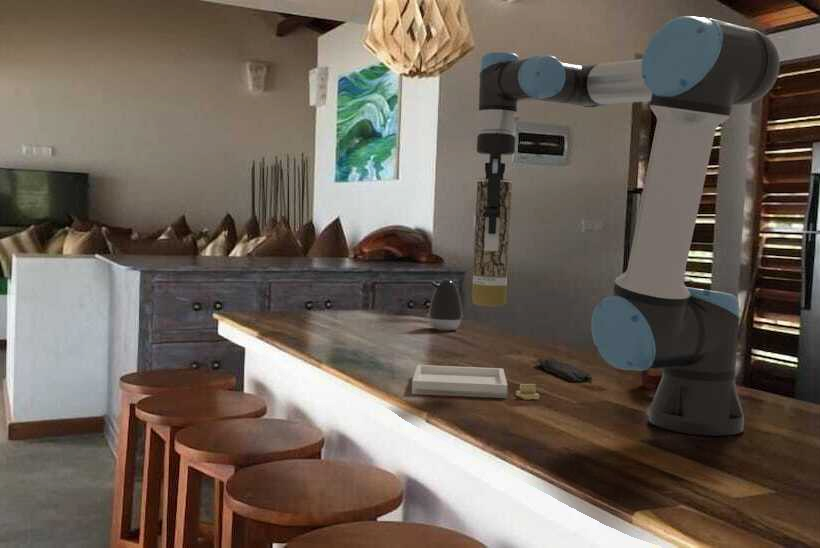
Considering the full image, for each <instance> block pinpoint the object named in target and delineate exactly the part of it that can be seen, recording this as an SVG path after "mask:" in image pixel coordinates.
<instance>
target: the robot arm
mask: <svg viewBox="0 0 820 548" xmlns="http://www.w3.org/2000/svg"><path fill="white" fill-rule="evenodd" d="M480 62H481V64H480V71H479V75H478V76H479V90H478V91H479V92H478V93H479V94H478V112H477V128H476V129H477V131H478V132H480V133H479V134H478V135H477V137H476V139H477V140H476V152H477V153H478V154H481V155H489V162H484V172H485V179H486V182H487V179H488V193H487V209H486V213H483V217H486V220H485V242H484V251H498V241H499V220H500V218H499V216H500V209H499V207H500V186H501V180H502V182H503V179H504V173H505V171H506V163H503V162H502V156H503V155H504V156H509V155H510V156H511V155H514V154H515V152H516V139H517V138H516V136H515V135H513V134H514V133H515V132H516V129H517V127H516V126H517V124H516V123H519V122H520V117H518V116H517V112H518V102H520V101H529V100H532V101H533V100H534V101H541V102H542V101H543V102H549V103H555V104H556V103H558V104H559V103H560V104H567V105H575V106H581V107H584V108H602V107H605V106H606V105H608V104H611V105H612V104H627V103H643V102H649V103H650V104H649V108H650V109H651V111H652V112H653V114H654V115H655V117H656V125H655V129H654V135H653V139H652V140H653V141H652V145H651V150H650V155H649V161H648V164H647V168H646V169H647V170H646V174H645V179H644V180H645V181H644V186H643V191H642V194H641V198H640V203H639V204H640V205H639V209H638V210H639V211H638V213H637V214H638V216H637V220H636V225H635V230H634V234H633V235H634V236H633V239H632V244H631V250H630V254H629V255H630V256H629V259H628V265H627V269H626V271H624V272H623V273H621V274H620V275H619V276H617V277H616V278H615V280H614V283H613V289H612V293H611V294H612V295H611V296H607V297H605V298H603V299H602V300H601V301H600V302H599V303H598V304H596V306H595V308H594V309H593V313H592V316H591V323H590V324H591V327H590V328H591V335H592V339H593V342H594V345H595V346H596V347H597V350H598V353H599V354H600V356H601V357H602V359H604V361H605V362H607V364H609V365H610V366H612V367H613V368H616V369H618V370H623V371H636V372H637V371H638V372H641V371H644V370H647V369H654V368H663V372H662V379H661V381H660V384H659V386H658V389H657V391H655V394H654V397H653V399H652V402H651V405H650V407H649V414H648V415H649V417H648V419H649V420H648V421H649V423H650V424H652V425H654V426H656V427H658V428H661V429H665V430H668V431H672V432H676V433H682V434H689V435H695V436H696V435H697V436H711V437H712V436H713V437H714V436H717V437H718V436H719V437H720V436H732V435H733V436H735V435H737V434H741V433H743V431H744V426H745V425H744V424H745V423H744V422H745V415H744V413H743V412H744V411H743V409H742V404H741V401H740V396H739V393H738V390H737V387H736V369H737V368H736V367H737V352H738V335H739V323H740V319H741V316H740V304H739V300H738V298H737V297H736V295H734V294H731V293H728V292H724V291H723V292H722V291H716V290H710V289H709V290H708V289H703V288H702V289H701V288H696V287H695V288H694V287H689V286H688V287H687V286H686V285H685V283H684V277H685V273H686V272H685V271H686V267H687V263H688V259H689V254H690V250H691V244H692V239H693V235H694V229H695V226H696V222H697V217H698V213H699V208H700V203H701V200H702V193H703V189H704V186H705V185H704V184H705V182H706V176H707V171H708V166H709V162H710V157H711V152H712V148H713V144H714V140H715V134H716V129H717V128H718V127H719V125H721V124H723V123H724V122H726V121H727V120H728V119H730V116H731V111H732V108H733V106H744V105H748V104H752V103H755V102H756V101H759V100H760V99H762V98H763V97H764V96H766V95H767V93H769V91H771V89H772V88H773V86H774V85H775V83H776V81H777V78H778V76H779V73H780V66H781V65H780V55H779V52H778V49H777V47H776V46H775V44H774V42H773V41H772V40H771V39H770V38H769V37H768V36H767V35H766V34H764V33H763V32H761V31H759V30H757V29H753V28H750V27H745V26H741V25H737V24H733V23H730V22H729V23H728V22H725V21H722V20H717V19H713V18H710V17H705V16H703V17H700V16H691V15H684V16H678V17H676V18H673V19H671V20H669V21H667V22H666V23H665V24H663V25H662V26H661V28H660V29H658V30H656V31H655V32H654V34H653V35H652V37H651V38H650V39H649V41H648V42H647V45H646V46H645V49H644V51H643V54H642V57H641V58H640V59H639V58H638V59H631V60H622V61H615V62H605V63H597V64H589V65H579V64H572V63H566V62H561V61H560V60H559V59H558V58H557V57H555V56H553V55H534V56H532V57H529V58H524V59H520V57H519V55H518V54H516V53H513V52H509V51H508V52H507V51H496V52H492V51H491V52H488V53H486V54H484V55H483V56H482V57H481V61H480ZM496 217H498V218H496Z"/></svg>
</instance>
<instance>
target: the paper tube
mask: <svg viewBox="0 0 820 548" xmlns="http://www.w3.org/2000/svg"><path fill="white" fill-rule="evenodd" d="M512 183H513V182H512V180H511V179H505V178H503V182H502V180H501V186H500V207H499V209H500V216H499V218H500V220H499V241H498V251H484V242H485V220H486V217H483V213H486V209H487V193H488V179H487V182H486V178H477V181H476V201H475V202H476V204H475V222H474V223H475V224H474V225H475V226H474V227H475V228H474V244H473V246H474V247H473V267H472V271H473V272H472V291H471V293H472V296H471V301H472V303H473V304H474V305H476V306H482V307H502V306H504V305H505V304H506V303H507V287H508V284H507V283H508V277H507V276H508V269H509V268H508V267H509V265H508V264H509V263H508V262H509V243H510V226H511V203H512V199H511V198H512V185H513V184H512ZM496 218H498V217H496Z"/></svg>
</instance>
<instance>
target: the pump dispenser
mask: <svg viewBox="0 0 820 548" xmlns="http://www.w3.org/2000/svg"><path fill="white" fill-rule="evenodd" d="M430 286H432V287H434V288H435V289H434V292H433V293H432V296H431V300H430V305H429V310H428V318H429V322H430V324H431V326H432V327H433V328H434V329H435V330H437V331H443V332H444V331H445V332H447V331H448V332H449V331H454V330H456V329H457V328H459V326H460V324H461V322H462V319H463V316H464V314H463V307H462V300H461V296H460V292H459V290H458V288H457V286H456V284H455V282H454V281H453V280H451V279H448V278H446V279H443V280H440V281H439V282H438V283H436V282H434V281H431V282H430Z"/></svg>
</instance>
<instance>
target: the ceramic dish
mask: <svg viewBox="0 0 820 548" xmlns="http://www.w3.org/2000/svg"><path fill="white" fill-rule="evenodd" d="M507 381H508V380H507V377H506V374H505V370H504V368H502V367H501V368H500V367H499V368H498V367H478V366H476V367H475V366H474V367H473V366H455V365H451V366H450V365H432V364H431V365H430V364H417V365H416V368H415V371H414V374H413V378H412V380H411V395H427V396H428V395H430V396H431V395H432V396H448V397H449V396H451V397H470V398H471V397H473V398H493V399H495V398H496V399H508V382H507Z"/></svg>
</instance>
